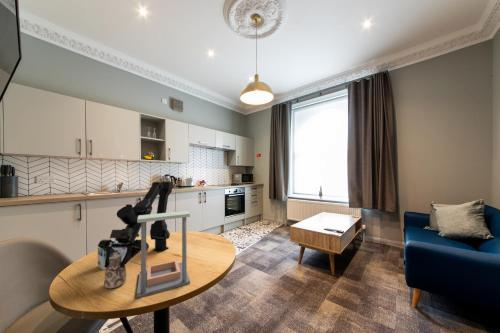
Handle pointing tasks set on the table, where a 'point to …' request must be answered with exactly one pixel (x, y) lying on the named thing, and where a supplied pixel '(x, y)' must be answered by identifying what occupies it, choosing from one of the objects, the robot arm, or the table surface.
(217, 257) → the table surface
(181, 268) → the awning stand
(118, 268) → the figurine
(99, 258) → the light bulb box
